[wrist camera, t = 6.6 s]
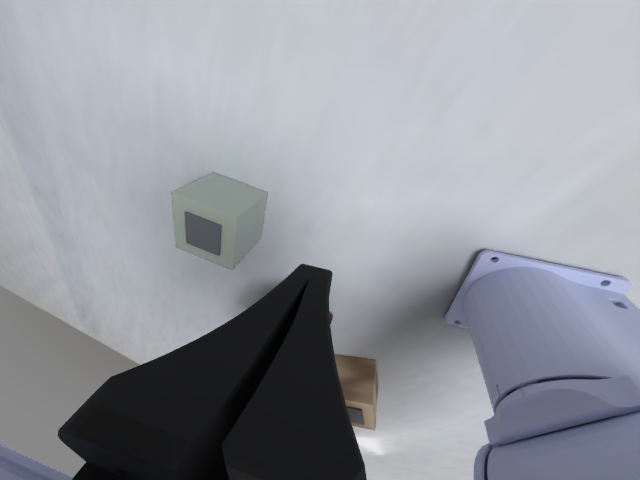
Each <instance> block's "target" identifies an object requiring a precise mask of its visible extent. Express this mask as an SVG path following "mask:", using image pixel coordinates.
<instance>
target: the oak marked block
mask: <svg viewBox="0 0 640 480" xmlns="http://www.w3.org/2000/svg"><path fill="white" fill-rule="evenodd" d="M334 356H335V361H336V366H337V371H338V375H339V379H340V383H341V388H342V392H343V396H344V400H345V404H346V407H347V411H348V414H349V417H350V421H351V424H352V425H353V426H358V427H362V428H367V429H372V430H375V427H376V411H377V395H378V378H377V366H376V360H373V359H365V358H358V357H350V356H343V355H335V354H334Z"/></svg>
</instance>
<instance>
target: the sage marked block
mask: <svg viewBox="0 0 640 480" xmlns="http://www.w3.org/2000/svg"><path fill="white" fill-rule="evenodd" d="M171 193H172V204H173V216H174V228H175V239H176V248H179V249H181V250H184V251H186V252H189V253H191V254H194V255H196V256H199V257H201V258H204V259H206V260H208V261H211V262H213V263H216V264H218V265H221V266H223V267H226V268H228V269H231V270H233V269H234V268H235V267H236V266H237V265H238V264H239V262H240V261H241V260H242V259H243V258H244V257H245V256H246V255H247V253H248V252H249V251H250V250H251V249H252V248H253V247H254V246H255V245H256V243H257V242H258V241H259V240H260V239H261V233H262V227H263V221H264V215H265V208H266V202H267V196H268V192H267V191H264V190H261V189H259V188H256V187H253V186H251V185H248V184H245V183H243V182H240V181H237V180H235V179H232V178H229V177H227V176H224V175H222V174H219V173H216V172H213V173H211V174H209V175H207V176H205V177H202V178H200V179H198V180H196V181H194V182H192V183H190V184H188V185H185V186H183V187H181V188H179V189H177V190H175V191H173V192H171Z"/></svg>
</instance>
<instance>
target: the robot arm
mask: <svg viewBox="0 0 640 480" xmlns="http://www.w3.org/2000/svg"><path fill="white" fill-rule="evenodd" d="M493 257H497V258H496V259H494V260H491V258H493ZM331 280H332V272H331V271H330V270H326V269H322V268H317V267H313V266H309V265H305V264H301V265H299V266H298V267H297V268H296V269H295V270H294V271H293V272H292V273H291V274H290V275H289V276H288V277H287V278H286V279H285V280H283V281H282V282H281V283H280V284H279V285H278V286H276V287H275V288H274V289H273V290H272V291H270V292H269V293H268V294H267V295H266V296H264V297H263V298H262V299H260V300H259V301H258V302H256V303H255V304H254V305H252V306H251V307H249V308H248V309H247V310H245V311H244V312H242V313H241V314H239V315H238V316H236V317H235V318H233V319H232V320H230V321H228V322H227V323H225V324H223V325H222V326H220V327H218V328H216V329H215V330H213V331H211V332H210V333H208V334H206V335H204V336H202V337H200V338H199V339H197V340H195V341H193V342H191V343H189V344H186V345H184V346H182V347H180V348H178V349H176V350H174V351H172V352H170V353H168V354H166V355H163V356H161V357H159V358H157V359H154V360H152V361H149V362H147V363H145V364H142V365H140V366H137V367H135V368H132V369H130V370H127V371H125V372H123V373H120V374H117V375H115V376H112V377H110V378H109V379H108V380H107V381H106V382H105V383H104V384H103V385H102V386H101V387H100V388H99V389H98V390H97V391H96V392H95V393H94V394H93V395H92V396H91V397H90V398H89V399H88V400H87V401H86V402H85V403H84V404H83V405H82V406H81V407H80V408H79V409H78V410H77V411H76V412H75V413H74V414H73V415H72V417H71V418H70V419H69V420H68V421H67V422H66V423H65V424H64V425H63V426H62V427H61V428H60V429H59V431H58V436H59V438H60V439H61V441H63V442H64V443H65V444H66V445H67V446H68V447H69V448H71V449H72V450H73V451H74V452H76V453H77V454H78V455H79V456H80V457H81V458H83V459H84V460H85V461H86V463H85V464H84V466H83V467H82V468H81V469H80V471H79V472H78V473H77V474H76V475H75V477H74V478H73V477H70V476H68V475H66V474H64V473H62V472H60V471H57V470H55V469H53V468H50V467H49V466H46V465H44V464H42V463H40V462H38V461H35V460H33V459H31V458H29V457H27V456H25V455H22V454H20V453H18V452H16V451H14V450H12V449H9V448H7V447H5V446H3V445H1V444H0V480H367V479H366V472H365V465H364V462H363V459H362V456H361V453H360V450H359V447H358V444H357V440H356V437H355V434H354V431H353V428H352V424H351V421H350V417H349V414H348V411H347V407H346V404H345V400H344V396H343V392H342V388H341V383H340V379H339V375H338V371H337V366H336V361H335V356H334V350H333V344H332V337H331V329H330V318H329V293H330V286H331ZM605 280H606V281H605ZM602 281H605V282H602ZM631 287H632V283H631V282H630V281H629V280H628V279H626V278H622V277H617V276H612V275H607V274H602V273H597V272H593V271H588V270H583V269H578V268H573V267H568V266H563V265H559V264H554V263H549V262H544V261H539V260H534V259H529V258H525V257H520V256H515V255H510V254H505V253H500V252H495V251H490V250H484V251H482V252H480V253H479V255H478V257H477V258H476V260H475V262H474V264H473V266H472V268H471V270H470V271H469V273H468V275H467V277H466V279H465V281H464V282H463V284H462V286H461V288H460V290H459V292H458V294H457V295H456V297H455V299H454V301H453V303H452V305H451V306H450V308H449V310H448V312H447V314H446V316H445V322H446V323H447V324H450V325H454V326H457V327H461V328H465V329H469V330H470V332H471V336H472V339H473V342H474V346H475V349H476V353H477V356H478V360H479V363H480V366H481V370H482V373H483V377H484V380H485V384H486V387H487V391H488V394H489V397H490V401H491V404H492V408H493V411H494V416H493V417H492V418H490V419H488V420H486V421H484V423H485V427H486V430H487V434H488V438H489V442H490V443H488V444H486V445H484V446H482V447H481V449H480V450H479V451H478V453H477V455H476V458H475V463H474V480H640V309H639V308H638V307H637V306H636V305H634V304H633V303H632V302H631V301H630V300H629V299H628V298H627V297H626V296H625V295H624V294H625V293H626V292H627V291H628V290H629V289H630V288H631Z"/></svg>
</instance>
